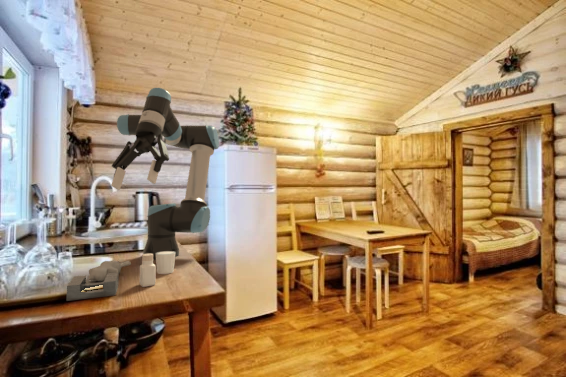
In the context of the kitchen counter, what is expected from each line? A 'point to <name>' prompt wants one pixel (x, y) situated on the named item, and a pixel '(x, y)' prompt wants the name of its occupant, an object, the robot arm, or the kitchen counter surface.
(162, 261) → the white cup
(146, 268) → the pepper shaker
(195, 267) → the kitchen counter surface
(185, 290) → the kitchen counter surface
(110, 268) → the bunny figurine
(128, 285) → the kitchen counter surface
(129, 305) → the kitchen counter surface
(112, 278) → the socket mount
